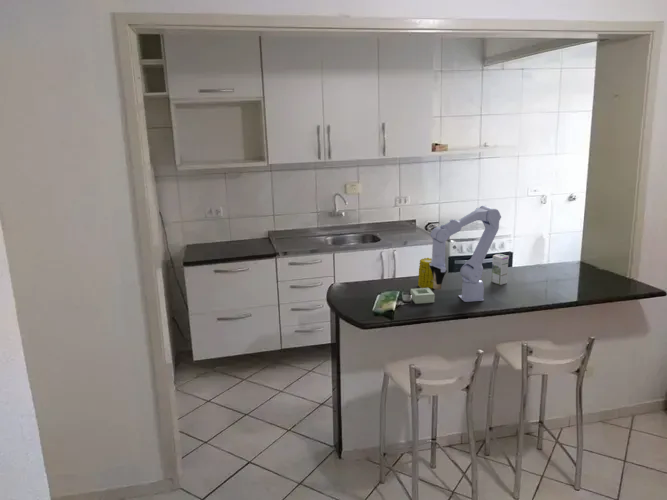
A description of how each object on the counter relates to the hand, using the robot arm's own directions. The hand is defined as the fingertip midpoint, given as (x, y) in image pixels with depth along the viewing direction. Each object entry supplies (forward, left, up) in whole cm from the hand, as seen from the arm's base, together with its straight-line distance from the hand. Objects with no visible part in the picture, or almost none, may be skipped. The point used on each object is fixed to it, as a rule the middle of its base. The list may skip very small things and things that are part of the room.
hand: (437, 282), depth 241 cm
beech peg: (0, 0, -3) cm, 3 cm away
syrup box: (-40, -22, -10) cm, 46 cm away
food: (-3, -23, -10) cm, 25 cm away
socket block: (+5, -6, -10) cm, 13 cm away
